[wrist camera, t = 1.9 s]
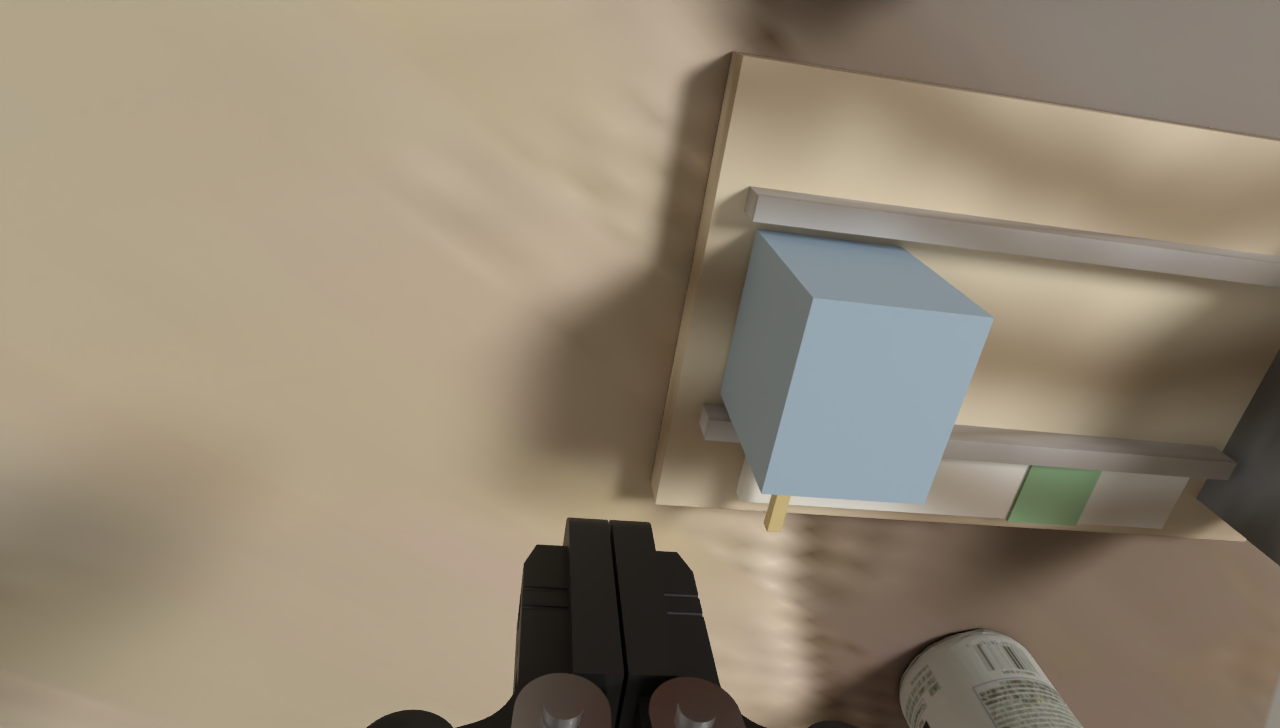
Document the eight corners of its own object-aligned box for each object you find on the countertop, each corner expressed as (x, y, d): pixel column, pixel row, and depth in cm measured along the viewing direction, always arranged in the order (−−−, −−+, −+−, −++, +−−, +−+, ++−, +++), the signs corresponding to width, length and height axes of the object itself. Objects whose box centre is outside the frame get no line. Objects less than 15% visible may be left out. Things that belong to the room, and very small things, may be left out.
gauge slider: (756, 228, 25) (813, 297, 20) (943, 251, 26) (1045, 323, 21) (697, 495, 29) (730, 610, 24) (859, 506, 30) (925, 618, 25)
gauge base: (732, 51, 24) (832, 92, 15) (1426, 162, 28) (1803, 242, 20) (650, 481, 31) (689, 672, 22) (1218, 519, 35) (1432, 693, 26)
